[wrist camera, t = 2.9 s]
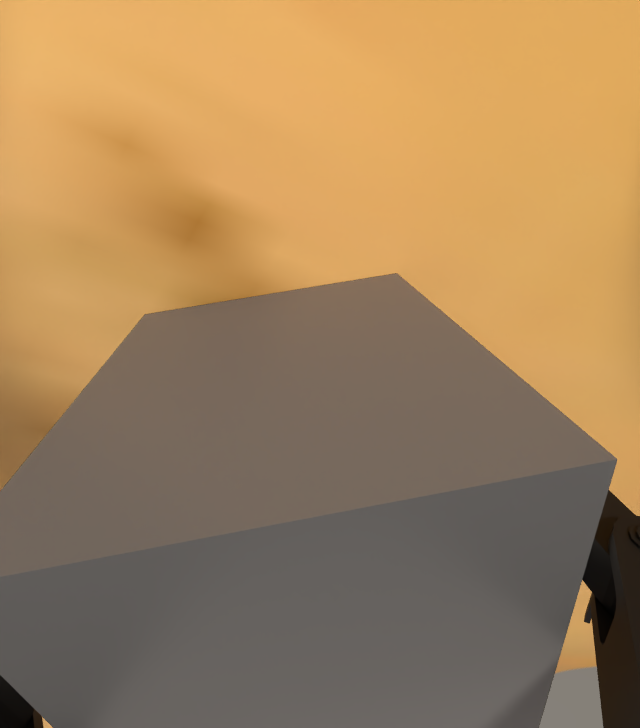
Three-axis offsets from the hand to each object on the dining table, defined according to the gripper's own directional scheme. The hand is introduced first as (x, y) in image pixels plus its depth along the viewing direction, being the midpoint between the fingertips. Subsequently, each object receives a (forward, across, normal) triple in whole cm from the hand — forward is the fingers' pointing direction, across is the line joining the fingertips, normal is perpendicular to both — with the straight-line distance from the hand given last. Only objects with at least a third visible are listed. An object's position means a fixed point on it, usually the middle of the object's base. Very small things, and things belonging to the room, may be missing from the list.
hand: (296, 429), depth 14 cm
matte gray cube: (+2, 0, 0) cm, 2 cm away
